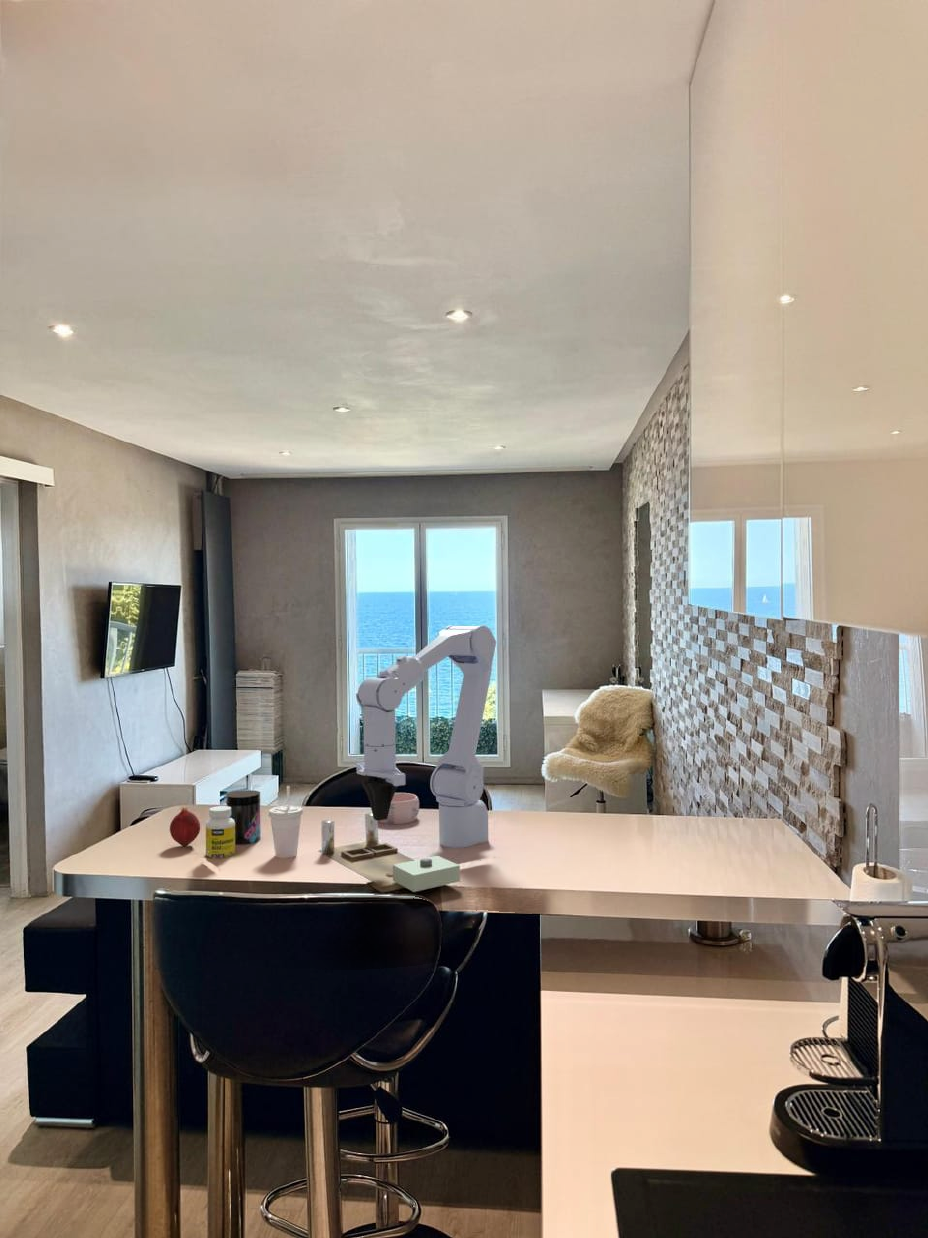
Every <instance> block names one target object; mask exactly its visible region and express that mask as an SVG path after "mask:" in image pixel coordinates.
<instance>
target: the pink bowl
mask: <svg viewBox="0 0 928 1238" xmlns="http://www.w3.org/2000/svg"><path fill="white" fill-rule="evenodd" d="M419 812H420V800H419V797H418V796H417V795H416V794H414V793H409V792H408V793H407V792H395V793H394V796H393V798H392V801H391V805H390V809H389V814H388V818H387V819H385V820H380V821H378V822H379V823H381V824H386V825H403V824H408V823H412V822H415V821H416V820H417V817H418V814H419Z"/></svg>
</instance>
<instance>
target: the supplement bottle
mask: <svg viewBox="0 0 928 1238" xmlns="http://www.w3.org/2000/svg"><path fill="white" fill-rule="evenodd" d="M208 815H209V817H210V819H207V821H206V823H205V860H206V861H207V862H209V863H212V861H211V860H210V859H224V858H229V857H232V856H234V855H235V854H236V845H235V821H234V820H233V819H232V818H230V816H231V807H228V806H226V805H218V806H214V807H210V808H209V814H208ZM208 858H209V859H208Z"/></svg>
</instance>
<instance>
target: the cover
mask: <svg viewBox="0 0 928 1238" xmlns="http://www.w3.org/2000/svg"><path fill="white" fill-rule="evenodd" d="M413 860H414V861H409V862H404V863H399V864H394V865H393V881H394V882H396V883H398V884H400V885H402V886H404V887H406V888H405V889H407V890H410V891H411V892H413V893H416V892H421V891H424V890H427V889H428V890H429V889H433V888H437V887H442V886H446V885H450V884H451V885H452V884H454V883H460V881H461V866H460V864H458V863H456V862H453V861H451V860H448V859H446V858H444V857H442V856H439V855H434V856H429V857H424V858H421V859H419V858H418V859H413Z"/></svg>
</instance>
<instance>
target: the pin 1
mask: <svg viewBox="0 0 928 1238" xmlns="http://www.w3.org/2000/svg"><path fill="white" fill-rule="evenodd" d="M334 848H335V820H333V819H324V820H321V850H322V853H321V854H322V855H324V854H325V855H324V856H326V855H329V854H333V853H334Z"/></svg>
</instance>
